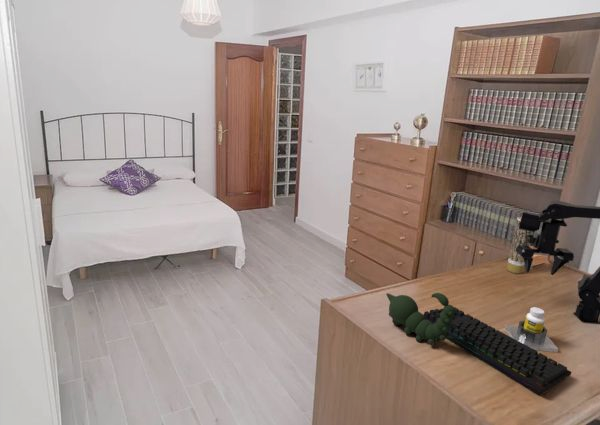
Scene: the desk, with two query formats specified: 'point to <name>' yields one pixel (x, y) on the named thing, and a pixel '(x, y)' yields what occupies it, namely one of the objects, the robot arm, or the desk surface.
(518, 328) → the cup bracket
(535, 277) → the desk surface
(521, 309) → the desk surface
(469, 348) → the keyboard
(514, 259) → the bark textured cylinder
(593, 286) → the robot arm
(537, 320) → the supplement bottle
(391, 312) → the toy figurine
